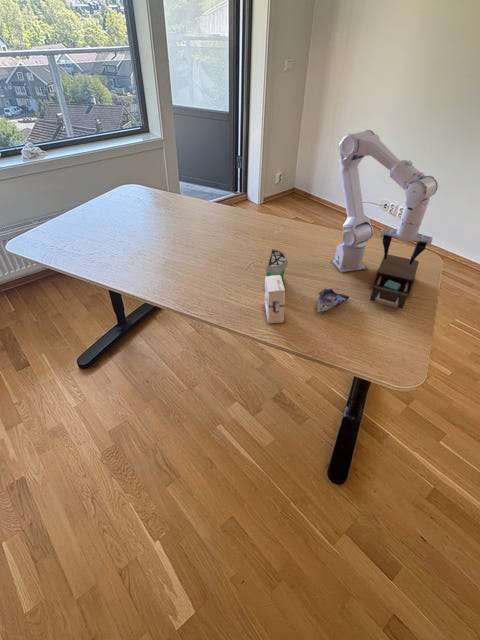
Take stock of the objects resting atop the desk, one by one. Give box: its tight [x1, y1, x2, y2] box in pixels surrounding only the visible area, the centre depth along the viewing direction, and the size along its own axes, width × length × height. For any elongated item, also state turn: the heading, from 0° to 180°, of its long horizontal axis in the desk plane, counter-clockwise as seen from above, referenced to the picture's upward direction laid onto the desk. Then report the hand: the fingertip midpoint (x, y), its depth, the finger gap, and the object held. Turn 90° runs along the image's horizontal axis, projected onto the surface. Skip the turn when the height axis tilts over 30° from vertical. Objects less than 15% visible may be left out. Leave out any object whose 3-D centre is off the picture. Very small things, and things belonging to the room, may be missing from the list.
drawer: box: [369, 274, 410, 310], centre depth 110 cm, size 17×10×5 cm, turn 152°
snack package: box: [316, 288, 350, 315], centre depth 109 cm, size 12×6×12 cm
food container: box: [266, 248, 288, 282], centre depth 117 cm, size 12×6×10 cm, turn 168°
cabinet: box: [372, 253, 420, 298], centre depth 117 cm, size 13×11×7 cm
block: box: [383, 280, 401, 291], centre depth 110 cm, size 4×4×4 cm
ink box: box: [264, 275, 286, 324], centre depth 103 cm, size 9×5×12 cm, turn 5°
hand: (397, 260), depth 111 cm, fingers open, 7 cm apart
